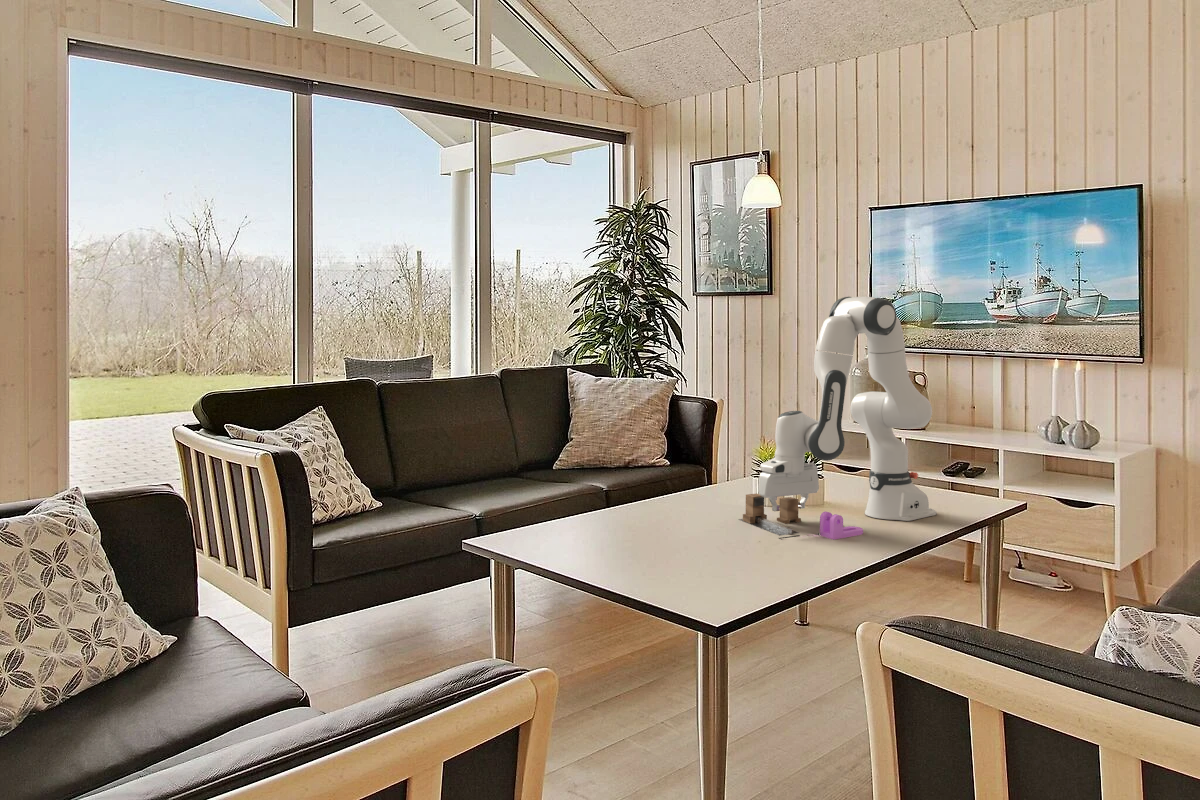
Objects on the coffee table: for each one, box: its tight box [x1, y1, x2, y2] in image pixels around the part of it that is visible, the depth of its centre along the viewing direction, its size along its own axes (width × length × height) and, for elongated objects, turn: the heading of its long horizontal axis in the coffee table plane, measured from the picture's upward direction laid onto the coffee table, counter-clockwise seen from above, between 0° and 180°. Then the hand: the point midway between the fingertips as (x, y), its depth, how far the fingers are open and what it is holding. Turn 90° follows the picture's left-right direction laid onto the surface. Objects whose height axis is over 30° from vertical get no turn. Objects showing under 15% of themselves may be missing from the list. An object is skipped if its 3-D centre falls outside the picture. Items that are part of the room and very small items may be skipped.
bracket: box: [819, 510, 864, 540], centre depth 258 cm, size 13×6×7 cm, turn 118°
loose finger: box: [776, 496, 802, 525], centre depth 271 cm, size 6×5×8 cm
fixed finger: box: [742, 493, 768, 524], centre depth 272 cm, size 6×5×8 cm
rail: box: [738, 516, 801, 540], centre depth 266 cm, size 7×22×2 cm, turn 23°
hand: (788, 509), depth 270 cm, fingers open, 8 cm apart
